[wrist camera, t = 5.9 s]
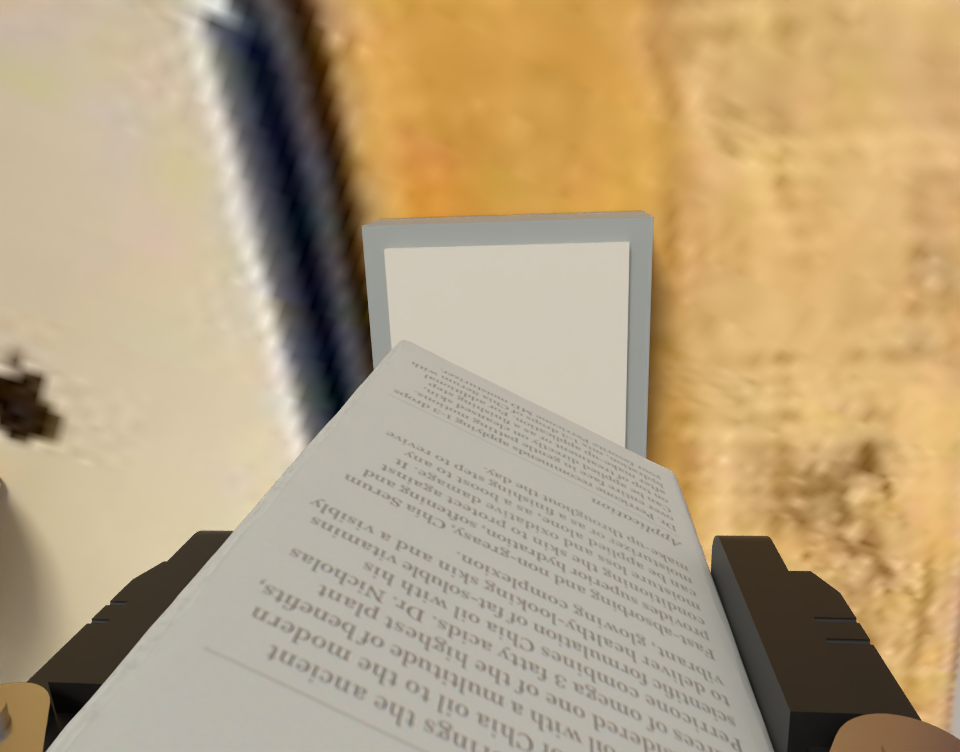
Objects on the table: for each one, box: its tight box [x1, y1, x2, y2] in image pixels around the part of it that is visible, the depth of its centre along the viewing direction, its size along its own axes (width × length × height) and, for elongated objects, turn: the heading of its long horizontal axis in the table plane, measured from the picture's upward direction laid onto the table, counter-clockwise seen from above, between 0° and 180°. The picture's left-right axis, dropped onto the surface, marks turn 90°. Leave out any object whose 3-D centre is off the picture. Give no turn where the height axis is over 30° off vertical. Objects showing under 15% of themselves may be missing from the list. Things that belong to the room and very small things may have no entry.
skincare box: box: [46, 340, 774, 752], centre depth 9 cm, size 6×4×12 cm
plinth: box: [362, 211, 653, 458], centre depth 27 cm, size 10×10×3 cm
